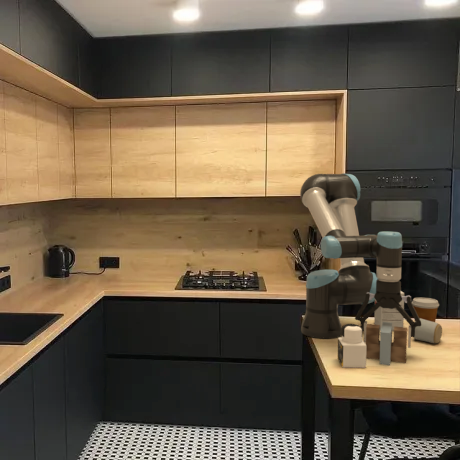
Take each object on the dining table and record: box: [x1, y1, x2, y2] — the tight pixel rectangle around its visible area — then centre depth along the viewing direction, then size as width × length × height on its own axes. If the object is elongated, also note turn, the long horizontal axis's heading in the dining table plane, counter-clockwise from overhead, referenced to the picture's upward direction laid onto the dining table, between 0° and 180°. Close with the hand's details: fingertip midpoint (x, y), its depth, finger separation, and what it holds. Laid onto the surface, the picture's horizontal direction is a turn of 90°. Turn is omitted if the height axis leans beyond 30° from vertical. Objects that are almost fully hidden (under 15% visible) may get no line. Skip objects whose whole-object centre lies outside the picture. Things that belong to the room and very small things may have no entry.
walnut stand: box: [365, 323, 408, 364], centre depth 142 cm, size 12×4×10 cm, turn 68°
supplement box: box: [373, 290, 405, 332], centre depth 175 cm, size 9×9×15 cm
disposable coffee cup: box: [411, 297, 440, 322], centre depth 170 cm, size 10×10×12 cm
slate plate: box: [379, 322, 393, 366], centre depth 142 cm, size 3×12×10 cm, turn 158°
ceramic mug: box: [412, 318, 443, 344], centre depth 160 cm, size 11×8×8 cm
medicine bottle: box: [337, 323, 367, 369], centre depth 138 cm, size 7×7×12 cm
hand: (386, 344), depth 146 cm, fingers open, 13 cm apart
